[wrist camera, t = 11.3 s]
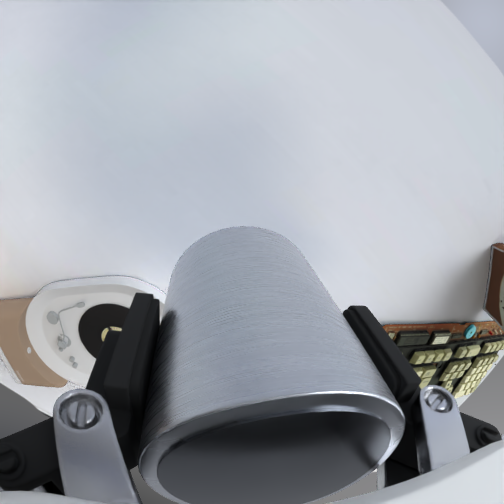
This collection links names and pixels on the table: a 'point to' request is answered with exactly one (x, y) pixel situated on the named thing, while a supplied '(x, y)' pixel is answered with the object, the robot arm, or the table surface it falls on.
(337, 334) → the steel cup
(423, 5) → the table surface
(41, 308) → the record player
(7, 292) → the table surface
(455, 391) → the keyboard
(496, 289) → the food container
